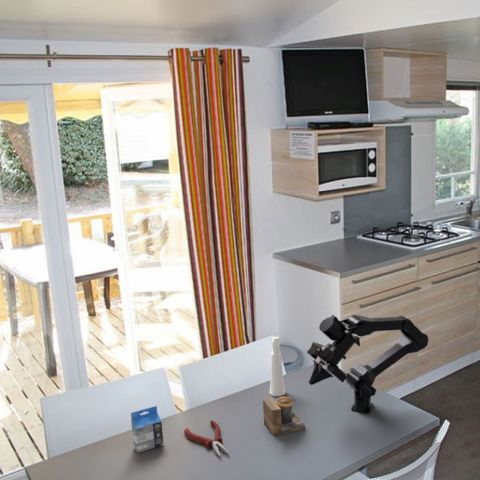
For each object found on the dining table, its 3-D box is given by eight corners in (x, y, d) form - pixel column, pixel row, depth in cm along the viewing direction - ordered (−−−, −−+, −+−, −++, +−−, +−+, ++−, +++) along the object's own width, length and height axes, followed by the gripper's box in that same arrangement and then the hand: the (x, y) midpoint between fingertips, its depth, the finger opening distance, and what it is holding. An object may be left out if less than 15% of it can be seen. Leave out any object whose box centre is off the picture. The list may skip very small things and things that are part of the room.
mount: (295, 416, 199) (294, 392, 197) (305, 428, 192) (304, 403, 190) (263, 424, 195) (263, 399, 193) (273, 436, 188) (272, 410, 186)
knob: (288, 416, 197) (287, 394, 195) (296, 425, 191) (295, 402, 190) (273, 419, 195) (273, 398, 193) (281, 428, 190) (280, 406, 188)
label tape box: (137, 453, 182) (134, 418, 179) (133, 447, 185) (130, 412, 182) (164, 445, 185) (161, 410, 183) (159, 439, 189) (156, 405, 186)
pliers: (208, 465, 175) (208, 457, 174) (183, 434, 192) (182, 427, 192) (242, 454, 180) (241, 446, 179) (214, 425, 197) (213, 418, 197)
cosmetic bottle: (266, 392, 217) (264, 337, 213) (278, 387, 221) (276, 333, 216) (276, 398, 213) (274, 341, 208) (288, 393, 216) (287, 337, 211)
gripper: (311, 325, 201) (283, 360, 199) (338, 344, 183) (306, 382, 182) (332, 343, 205) (303, 377, 203) (359, 363, 187) (329, 401, 186)
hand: (310, 384), depth 194 cm, fingers closed
